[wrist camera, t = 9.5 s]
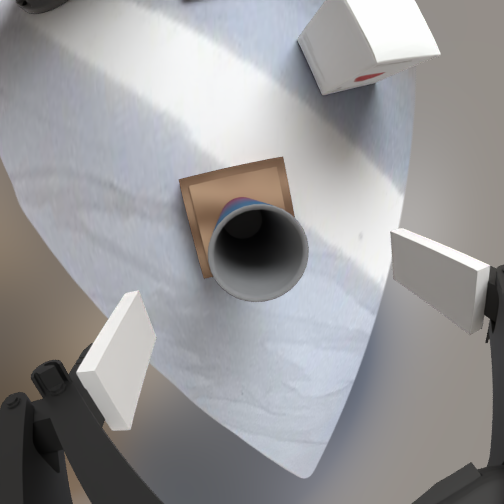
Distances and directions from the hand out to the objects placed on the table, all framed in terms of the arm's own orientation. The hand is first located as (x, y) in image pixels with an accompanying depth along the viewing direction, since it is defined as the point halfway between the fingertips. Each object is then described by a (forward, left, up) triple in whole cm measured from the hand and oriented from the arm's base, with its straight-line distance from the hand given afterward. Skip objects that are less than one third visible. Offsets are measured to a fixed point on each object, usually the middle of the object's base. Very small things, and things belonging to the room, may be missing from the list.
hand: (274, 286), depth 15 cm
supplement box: (-18, +17, -25) cm, 35 cm away
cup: (0, 0, -21) cm, 21 cm away
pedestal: (0, 0, -24) cm, 24 cm away
